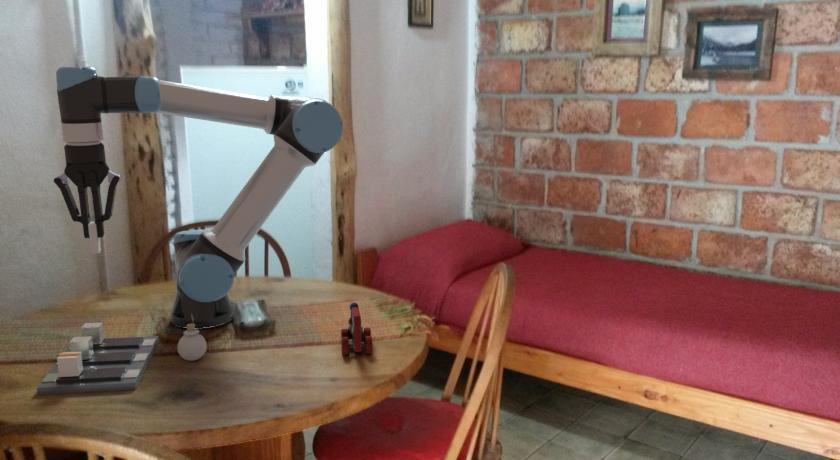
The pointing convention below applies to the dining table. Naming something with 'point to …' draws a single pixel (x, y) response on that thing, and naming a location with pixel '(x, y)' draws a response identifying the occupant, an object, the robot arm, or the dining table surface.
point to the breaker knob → (70, 364)
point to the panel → (103, 363)
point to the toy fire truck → (356, 334)
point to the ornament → (191, 344)
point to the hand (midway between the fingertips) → (96, 252)
